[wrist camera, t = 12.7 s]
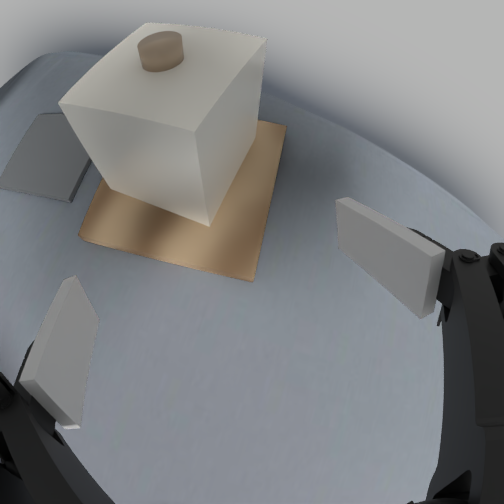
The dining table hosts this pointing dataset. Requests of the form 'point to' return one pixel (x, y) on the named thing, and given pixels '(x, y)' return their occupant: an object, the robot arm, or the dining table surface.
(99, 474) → the dining table surface
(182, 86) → the knobbed white box
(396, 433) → the dining table surface
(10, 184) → the mat
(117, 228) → the board
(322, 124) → the dining table surface
